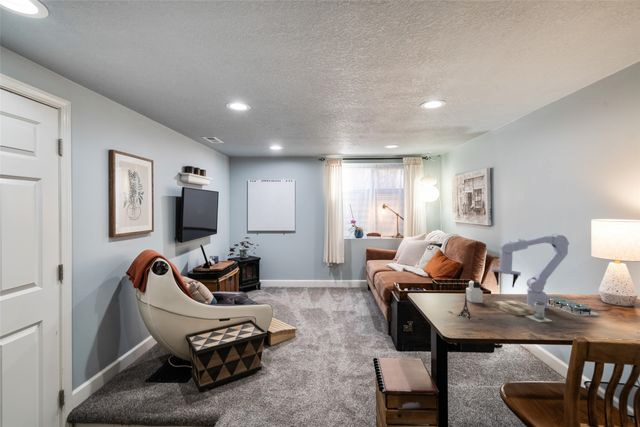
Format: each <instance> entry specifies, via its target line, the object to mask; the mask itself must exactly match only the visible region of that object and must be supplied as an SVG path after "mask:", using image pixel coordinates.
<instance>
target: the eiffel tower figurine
mask: <svg viewBox="0 0 640 427" xmlns="http://www.w3.org/2000/svg"><path fill="white" fill-rule="evenodd" d="M466 295H467V293H466V292H465V298H464V304H463V308H462V310H461V311H460V312H459V314H455V316H456V317H458V318H459V319H462V320H466V319H468V318H466V316H467V314H468V315H469V318H470V317H471V318H472V314H471V313H470V311H469V310H470V309H469V308H468V303H467V302H468V300H467V297H466ZM447 312H448V313H450V314H451V315H454V312H453V311H451V310H448V311H447ZM458 315H460V316H458ZM470 315H471V316H470Z"/></svg>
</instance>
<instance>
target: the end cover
mask: <svg viewBox="0 0 640 427" xmlns="http://www.w3.org/2000/svg"><path fill="white" fill-rule="evenodd" d="M545 310H546V308H545V303H543V302H539V301H534V314H533V315H534V318H536V319H540V320H544V318H545Z"/></svg>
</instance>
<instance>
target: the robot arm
mask: <svg viewBox="0 0 640 427" xmlns="http://www.w3.org/2000/svg"><path fill="white" fill-rule="evenodd" d="M543 243H544V244H549V245H551V246H552V248H553V250H554V253H553V254H551V256H550V258H548V260H547V261H546V262H545V263H544V265H543V266H542V267H541V269H540V270H538V272H537V273H536V274H535V275H533V276H532V277H530V278H529V279H528V280H526V281H527V282H526V285H527V287H528V288H527V290H526V292H527V294H526V297H527V298H526V304H527V305H530V306H533V307H534V301H539V302H543V303H545V309H549V306H548V305H547V303H548V294H547V293H546V292H545V291H544V290H545V286H546V284H547V280H548V279H549V277H550V276H551V275H552V274H553V273H554V271H555V270H556V269H557V268H558V266H559V265H560V264H561V263H562V262H563V261H564V259H565V258H566V256H568V250H569V244H570V242H569V241H568V238H567V237H566V236H565V235H561V234H558V233H553V234H546V235H542V236H538V237H535V238H531V239H527V240H525V239H524V238H518V239H517V240H513V241H510V240H509V241H508V242H505V243H502V244H501V246H500V251H501V257H500V268H492V269H491V273H493V276H494V277H495V280H496V285H497V286H499V284H500V282H499V281H500V280H499V279H500V278H499V277H500V275H499V274H504V275H512V284H511V285H512V286H511V287H512V288H514V287H515V284H516V281H517V279H518V278H519V277H521V274H522V272H520V271H515V270H513V252H518V251H523V250H526V249H528V248H529V247H531V246H535V245H540V244H543Z"/></svg>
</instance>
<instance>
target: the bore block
mask: <svg viewBox="0 0 640 427" xmlns="http://www.w3.org/2000/svg"><path fill="white" fill-rule="evenodd" d="M491 306H492V307H494V308H496V309H498V310H501V311H504V312H506V313H508V314H510V315H513V316H530V315H534V307H533V306H530V305H527V303H524V302H521V301H519V300H515V299H514V300H500V301H496V300H495V301H492V302H491Z"/></svg>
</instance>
